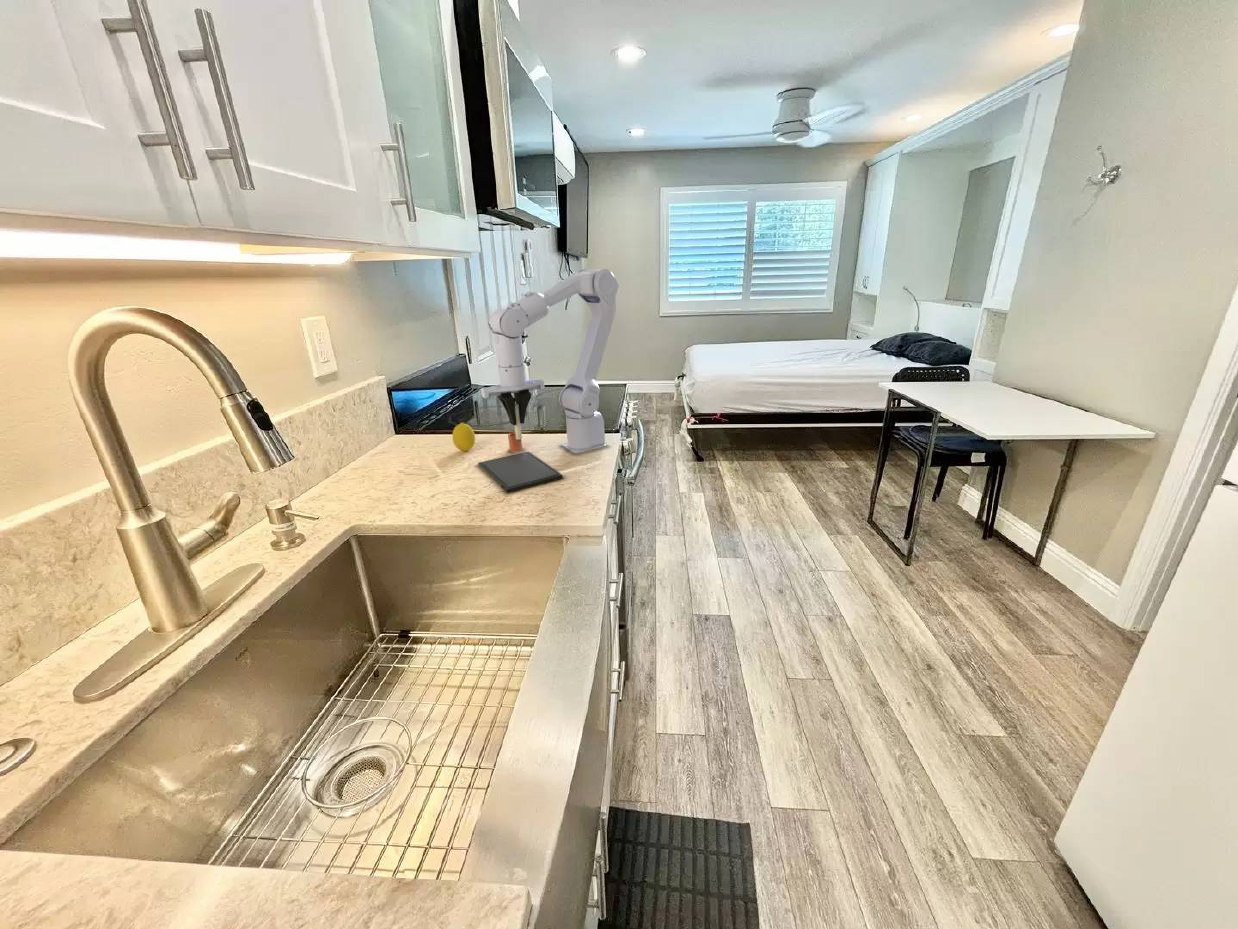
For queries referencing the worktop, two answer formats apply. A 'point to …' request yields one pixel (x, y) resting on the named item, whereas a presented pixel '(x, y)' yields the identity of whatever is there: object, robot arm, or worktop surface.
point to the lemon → (463, 437)
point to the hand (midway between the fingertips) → (517, 423)
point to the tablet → (519, 471)
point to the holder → (514, 443)
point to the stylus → (518, 424)
